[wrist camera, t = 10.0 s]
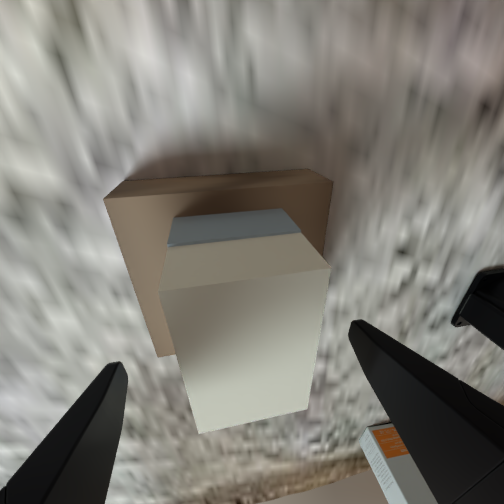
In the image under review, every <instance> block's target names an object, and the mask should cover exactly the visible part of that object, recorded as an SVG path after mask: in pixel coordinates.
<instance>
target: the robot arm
mask: <svg viewBox="0 0 504 504" xmlns="http://www.w3.org/2000/svg"><path fill="white" fill-rule="evenodd" d="M451 324H452V325H453V326H455V327H461V326H466V325H472V326H473V327H474V328H476V329H477V330H478V331H480V332H481V333H482V334H483V335H485V336H486V337H487V338H489V339H490V340H491V341H492V342H494V343H495V344H496V345H498V346H499V347H500V348H501V349H503V350H504V269H499V270H493V271H486V272H482V273H480V274H478V275H477V277H476V278H475V280H474V282H473V284H472V285H471V287H470V289H469V291H468V293H467V294H466V296H465V298H464V300H463V302H462V303H461V305H460V307H459V309H458V311H457V312H456V314H455V316H454V318H453V319H452V321H451ZM348 337H349V341H350V343H351V345H352V347H353V349H354V352H355V354H356V356H357V358H358V361H359V363H360V365H361V367H362V370H363V372H364V374H365V376H366V378H367V380H368V381H369V383H370V385H371V387H372V388H373V390H374V392H375V394H376V395H377V397H378V399H379V401H380V402H381V404H382V406H383V408H384V410H385V411H386V413H387V415H388V417H389V418H390V420H391V422H392V424H393V425H394V427H395V429H396V431H397V432H398V434H399V436H400V438H401V439H402V441H403V443H404V445H405V447H406V448H407V450H408V452H409V454H410V455H411V457H412V459H413V461H414V462H415V464H416V466H417V468H418V469H419V471H420V473H421V475H422V476H423V478H424V480H425V482H426V483H427V485H428V487H429V489H430V491H431V492H432V494H433V496H434V498H435V499H436V501H437V503H438V504H504V406H503V405H501V404H500V403H498V402H496V401H494V400H493V399H491V398H489V397H487V396H486V395H484V394H482V393H481V392H479V391H477V390H476V389H474V388H472V387H471V386H469V385H468V384H466V383H464V382H463V381H461V380H458V378H456V377H455V376H453V375H451V374H450V373H448V372H447V371H445V370H443V369H442V368H440V367H438V366H437V365H435V364H434V363H432V362H430V361H429V360H427V359H426V358H424V357H422V356H421V355H419V354H417V353H416V352H414V351H413V350H411V349H409V348H408V347H406V346H405V345H403V344H401V343H400V342H398V341H396V340H395V339H393V338H392V337H390V336H388V335H387V334H385V333H384V332H382V331H380V330H379V329H377V328H376V327H374V326H372V325H371V324H369V323H367V322H366V321H364V320H362V319H359V320H353V321H352V322H351V325H350V329H349V333H348ZM127 386H128V375H127V372H126V370H125V368H124V366H123V364H122V362H120V361H118V362H112V363H109V364H107V365H106V366H105V367H104V368H103V370H102V371H101V372H100V373H99V374H98V376H97V377H96V378H95V379H94V380H93V381H92V383H91V384H90V385H89V386H88V387H87V389H86V390H85V391H84V392H83V393H82V395H81V396H80V397H79V398H78V399H77V400H76V402H75V403H74V404H73V405H72V406H71V408H70V409H69V410H68V411H67V412H66V413H65V415H64V416H63V417H62V418H61V419H60V421H59V422H58V423H57V424H56V425H55V427H54V428H53V429H52V430H51V431H50V432H49V434H48V435H47V436H46V437H45V438H44V440H43V441H42V442H41V443H40V444H39V445H38V447H37V448H36V449H35V450H34V451H33V453H32V454H31V455H30V456H29V457H28V459H27V460H26V461H25V462H24V463H23V464H22V466H21V467H20V468H19V469H18V470H17V472H16V473H15V474H14V475H13V476H12V477H11V479H10V480H9V481H8V482H7V484H6V486H4V487H3V488H2V489H1V490H0V504H105V500H106V496H107V491H108V487H109V483H110V478H111V474H112V470H113V465H114V461H115V457H116V452H117V448H118V444H119V439H120V435H121V430H122V425H123V418H124V410H125V402H126V394H127Z"/></svg>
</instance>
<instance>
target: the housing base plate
mask: <svg viewBox="0 0 504 504" xmlns="http://www.w3.org/2000/svg"><path fill="white" fill-rule="evenodd" d="M293 233H301V229H300V228H299V227H298V226H297V225H296V224H295V222H294V221H293V220H292V219H291V218H290V217H289V216H288V214H287V213H286V212H285V211H284V210H283V209H282V208H279V209H267V210H256V211H244V212H233V213H222V214H210V215H199V216H188V217H176V218H173V221H172V225H171V229H170V234H169V238H168V242H167V246H168V247H175V246H184V245H193V244H202V243H211V242H220V241H229V240H238V239H247V238H256V237H265V236H274V235H283V234H293Z"/></svg>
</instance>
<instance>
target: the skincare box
mask: <svg viewBox="0 0 504 504" xmlns="http://www.w3.org/2000/svg"><path fill="white" fill-rule="evenodd" d="M359 443H360V445H361V447H362V449H363V451H364V453H365V455H366V457H367V459H368V461H369V464H370V466H371V468H372V470H373V472H374V474H375V476H376V478H377V480H378V482H379V484H380V486H381V488H382V490H383V492H384V495H385V497H386V499H387V501H388V503H389V504H438V503H437V501H436V499H435V498H434V496H433V494H432V492H431V491H430V489H429V487H428V485H427V483H426V482H425V480H424V478H423V476H422V475H421V473H420V471H419V469H418V468H417V466H416V464H415V462H414V461H413V459H412V457H411V455H410V454H409V452H408V450H407V448H406V447H405V445H404V443H403V441H402V439H401V438H400V436H399V434H398V432H397V431H396V429H395V427H394V425H393V424H392V423H391V424H385V425H379V426H373V427H367V428H366V430H365V432H364V433H363V435H362V436H361V438H360V440H359Z"/></svg>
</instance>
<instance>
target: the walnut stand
mask: <svg viewBox="0 0 504 504" xmlns="http://www.w3.org/2000/svg"><path fill="white" fill-rule="evenodd" d="M332 188H333V181H331V180H329V179H327V178H325V177H323V176H321V175H319V174H317V173H315V172H313V171H311V170H310V169H299V170H284V171H269V172H254V173H238V174H223V175H208V176H192V177H177V178H162V179H146V180H131V181H122V182H121V183H120V184H119V185H118V186H117V187H116V188H115V189H114V190H113V191H111V192H110V193H109V194H108V195H107V196H106V197H105V198H104V199H103V200H104V203H105V206H106V209H107V212H108V215H109V217H110V220H111V223H112V226H113V229H114V232H115V235H116V238H117V241H118V244H119V246H120V249H121V252H122V255H123V258H124V261H125V264H126V267H127V270H128V273H129V275H130V278H131V281H132V284H133V287H134V290H135V293H136V296H137V299H138V301H139V304H140V307H141V310H142V313H143V316H144V319H145V322H146V325H147V328H148V330H149V333H150V336H151V339H152V342H153V345H154V348H155V351H156V354H157V357H163V356H169V355H175V354H176V353H175V349H174V346H173V342H172V339H171V335H170V332H169V328H168V325H167V321H166V318H165V314H164V311H163V307H162V304H161V300H160V297H159V293H158V289H159V285H160V281H161V276H162V272H163V267H164V263H165V258H166V254H167V250H168V246H167V242H168V238H169V234H170V229H171V225H172V221H173V218H176V217H188V216H199V215H210V214H222V213H233V212H244V211H256V210H267V209H279V208H282V209H283V210H284V211H285V212H286V213H287V214H288V216H289V217H290V218H291V219H292V220H293V221H294V222H295V224H296V225H297V226H298V227H299V228H300V229H301V233H302V234H303V235H304V236H305V238H306V239H307V240H308V241H309V242H310V243H311V245H312V246H313V247H314V248H315V249H316V250H317V252H318V253H319V254H320V255H321V256H322V255H323V248H324V242H325V235H326V228H327V221H328V215H329V208H330V201H331V194H332Z"/></svg>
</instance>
